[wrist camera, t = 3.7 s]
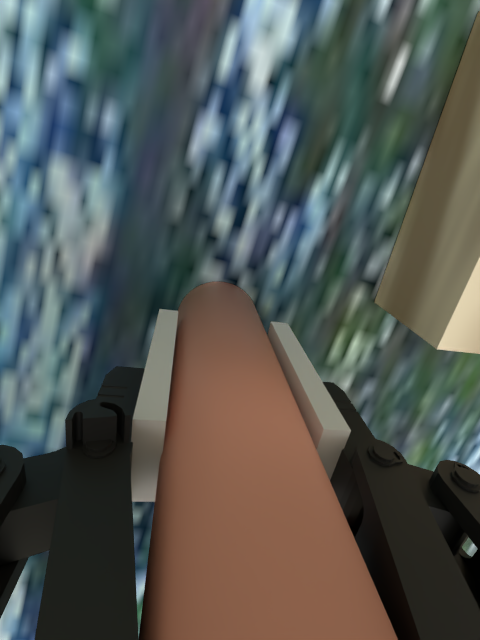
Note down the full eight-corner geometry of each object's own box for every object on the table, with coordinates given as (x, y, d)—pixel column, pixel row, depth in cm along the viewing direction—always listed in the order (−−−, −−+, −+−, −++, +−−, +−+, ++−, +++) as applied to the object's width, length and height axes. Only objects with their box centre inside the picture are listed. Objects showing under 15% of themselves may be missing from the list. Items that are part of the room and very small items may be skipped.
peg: (173, 350, 17) (114, 856, 5) (181, 276, 16) (125, 735, 3) (248, 357, 18) (376, 810, 5) (263, 287, 16) (495, 693, 4)
